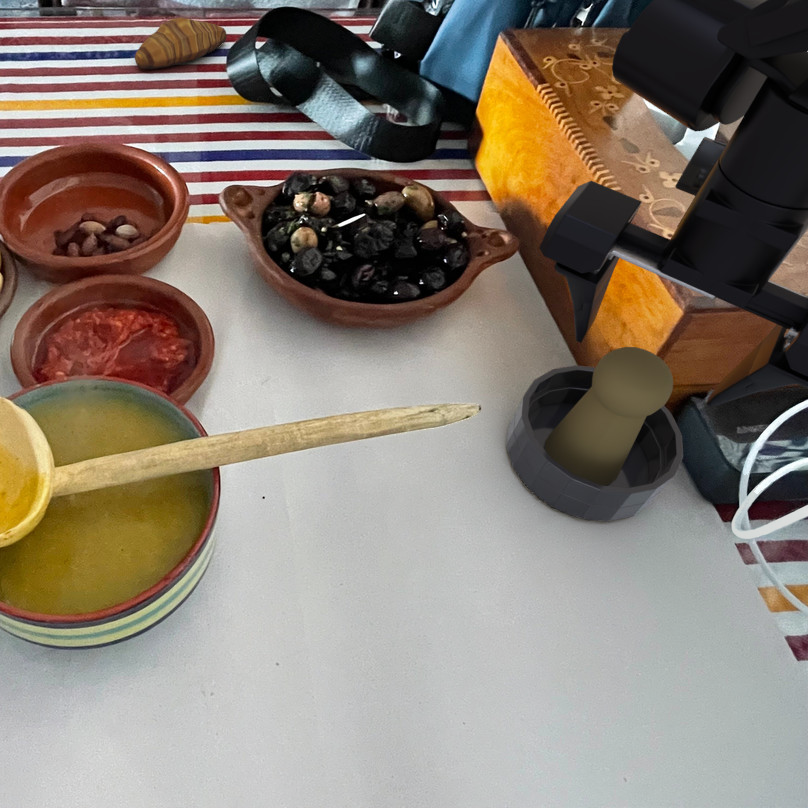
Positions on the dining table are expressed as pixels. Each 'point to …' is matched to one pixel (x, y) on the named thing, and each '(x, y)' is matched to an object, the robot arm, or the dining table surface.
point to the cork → (610, 414)
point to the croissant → (179, 43)
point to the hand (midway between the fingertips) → (643, 369)
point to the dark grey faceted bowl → (575, 495)
